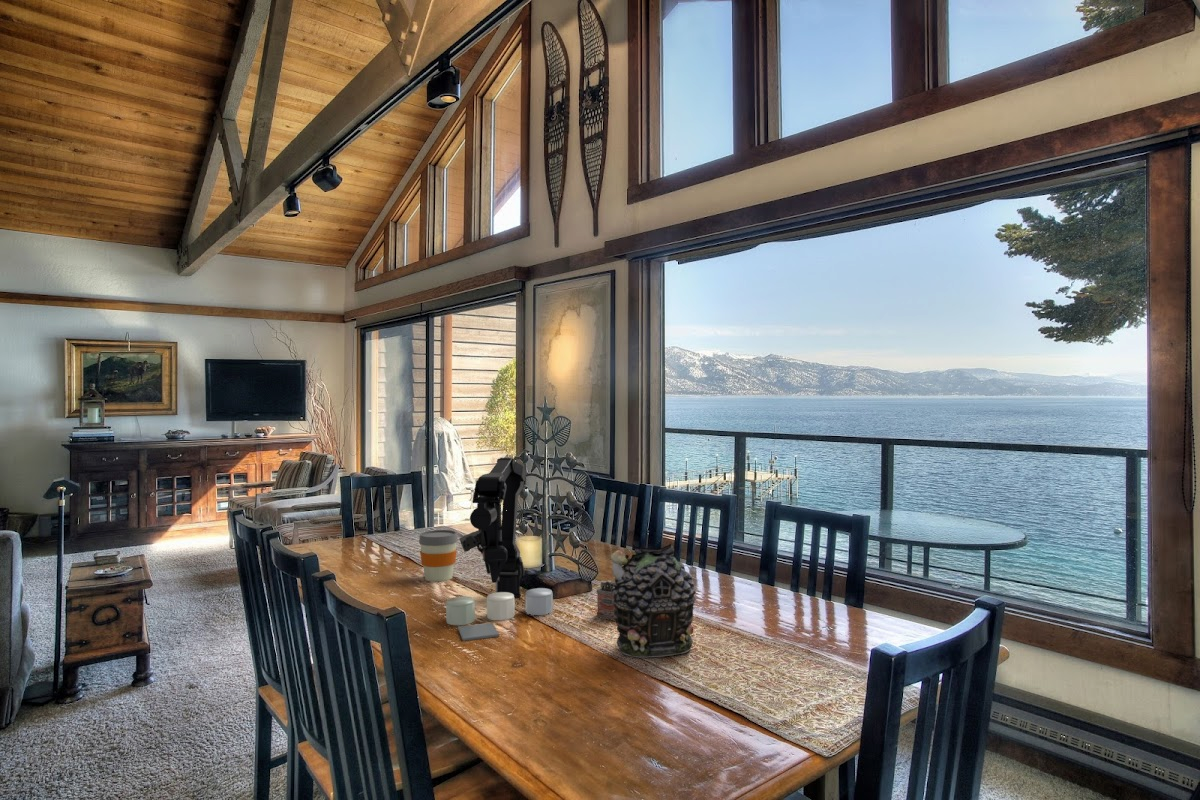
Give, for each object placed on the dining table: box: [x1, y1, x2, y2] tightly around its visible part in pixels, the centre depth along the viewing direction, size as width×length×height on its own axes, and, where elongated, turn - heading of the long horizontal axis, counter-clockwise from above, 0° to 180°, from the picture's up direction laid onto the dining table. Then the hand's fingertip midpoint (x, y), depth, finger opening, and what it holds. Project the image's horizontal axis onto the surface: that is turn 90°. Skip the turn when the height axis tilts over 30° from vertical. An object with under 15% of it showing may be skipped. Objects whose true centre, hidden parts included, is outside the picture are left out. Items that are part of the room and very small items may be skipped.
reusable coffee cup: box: [418, 529, 459, 583], centre depth 223 cm, size 12×13×15 cm
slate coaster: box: [457, 622, 500, 642], centre depth 170 cm, size 9×9×1 cm
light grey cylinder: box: [525, 587, 554, 616], centre depth 187 cm, size 7×7×6 cm
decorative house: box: [610, 544, 697, 659], centre depth 158 cm, size 21×15×25 cm
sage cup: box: [445, 595, 476, 626], centre depth 180 cm, size 7×7×6 cm
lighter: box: [596, 579, 615, 621], centre depth 181 cm, size 8×3×10 cm, turn 62°
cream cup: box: [486, 592, 516, 622], centre depth 183 cm, size 7×7×6 cm
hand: (491, 577), depth 183 cm, fingers open, 9 cm apart
